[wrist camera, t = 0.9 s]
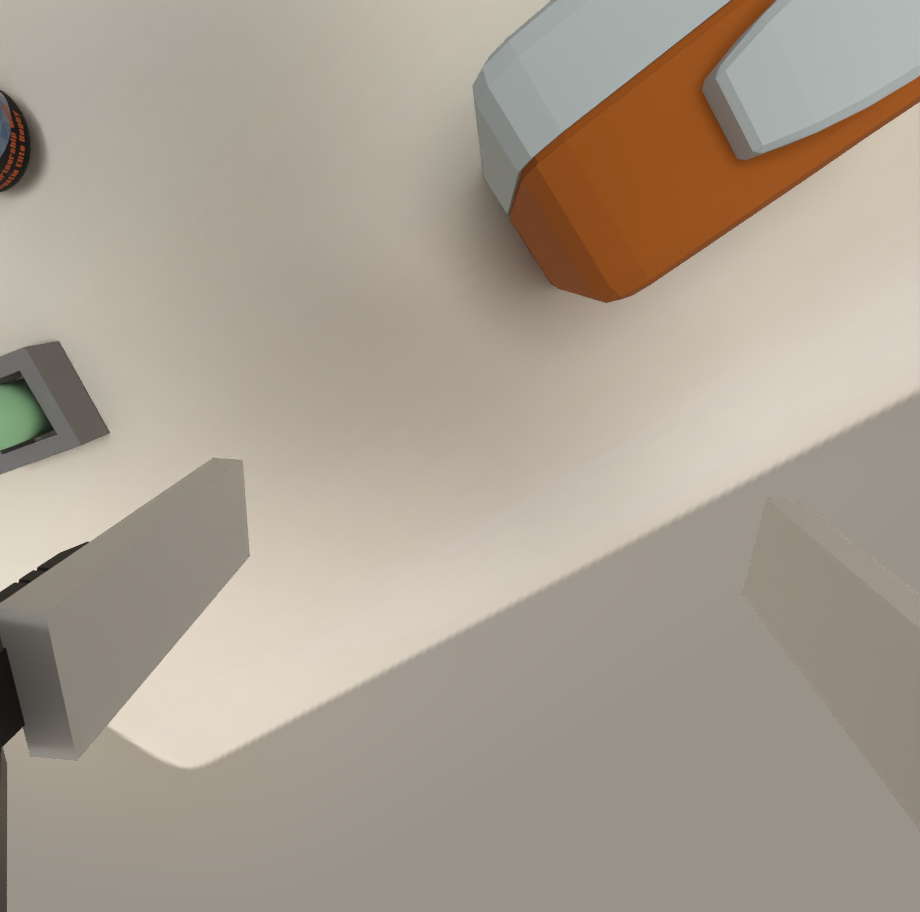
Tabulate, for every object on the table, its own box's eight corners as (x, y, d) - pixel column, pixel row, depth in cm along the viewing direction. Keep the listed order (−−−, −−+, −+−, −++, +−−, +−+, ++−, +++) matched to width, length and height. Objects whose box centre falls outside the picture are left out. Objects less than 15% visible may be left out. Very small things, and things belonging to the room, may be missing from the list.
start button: (-6, 389, 39) (-66, 404, 35) (41, 371, 39) (-15, 383, 34) (26, 441, 40) (-30, 461, 36) (72, 423, 40) (21, 442, 36)
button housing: (-23, 373, 40) (-62, 381, 37) (58, 341, 39) (24, 347, 36) (31, 461, 42) (-3, 475, 39) (109, 432, 41) (81, 445, 38)
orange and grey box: (554, 292, 36) (626, 320, 17) (477, 171, 34) (455, 41, 15) (830, 98, 32) (1355, -168, 12) (760, -54, 30) (1253, -651, 11)
